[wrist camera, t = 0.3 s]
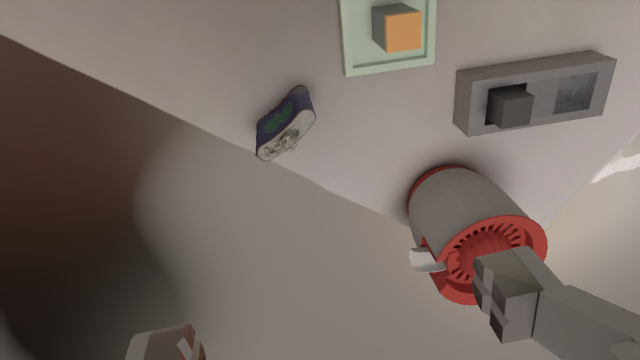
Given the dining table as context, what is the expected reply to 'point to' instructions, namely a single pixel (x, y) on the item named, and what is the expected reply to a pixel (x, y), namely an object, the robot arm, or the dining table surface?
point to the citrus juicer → (464, 227)
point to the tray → (366, 54)
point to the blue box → (284, 124)
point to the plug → (396, 27)
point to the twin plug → (509, 106)
